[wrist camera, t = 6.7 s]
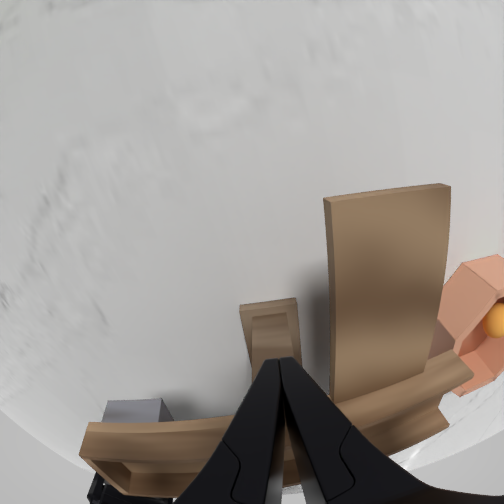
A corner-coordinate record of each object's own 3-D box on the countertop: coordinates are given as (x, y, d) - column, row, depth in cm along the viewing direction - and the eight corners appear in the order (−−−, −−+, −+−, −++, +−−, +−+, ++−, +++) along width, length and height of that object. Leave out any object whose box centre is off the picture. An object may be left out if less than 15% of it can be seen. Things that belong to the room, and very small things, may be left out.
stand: (303, 395, 25) (316, 478, 16) (260, 401, 25) (262, 484, 17) (295, 297, 21) (317, 392, 12) (239, 305, 21) (233, 402, 13)
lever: (420, 388, 19) (447, 427, 15) (131, 446, 18) (123, 494, 14) (453, 173, 13) (516, 191, 9) (21, 251, 12) (-32, 291, 8)
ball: (499, 322, 21) (511, 342, 18) (474, 326, 22) (485, 347, 19) (507, 294, 20) (522, 313, 17) (482, 297, 21) (495, 317, 18)
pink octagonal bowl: (492, 343, 24) (514, 369, 19) (411, 373, 24) (430, 409, 20) (517, 248, 19) (549, 270, 15) (431, 269, 20) (465, 300, 15)
